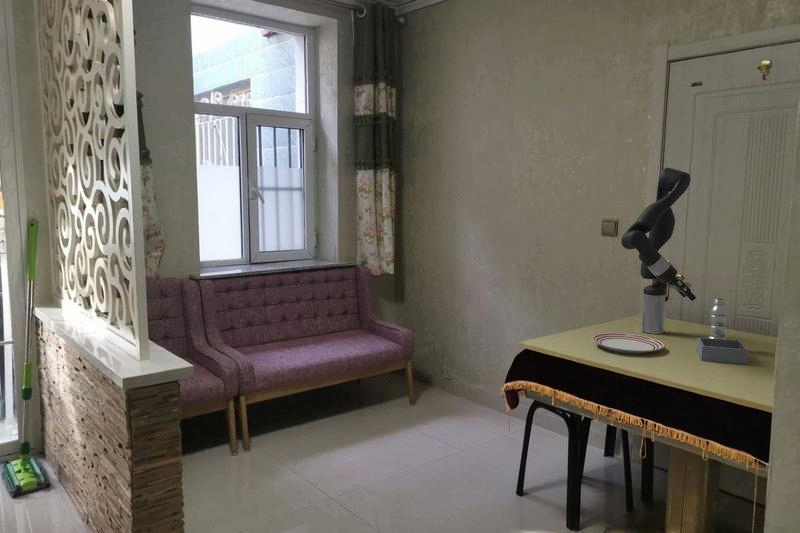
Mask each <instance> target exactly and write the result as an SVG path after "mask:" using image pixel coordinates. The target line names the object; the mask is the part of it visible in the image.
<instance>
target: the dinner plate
mask: <svg viewBox="0 0 800 533" xmlns="http://www.w3.org/2000/svg"><path fill="white" fill-rule="evenodd" d="M591 340H592V341H593V342H594V343H595V344H597V345H598V346H600V347H603V348H605V349H606V350H609V351H611V352H616V353H622V354H633V355H634V354H637V355H638V354H647V353H651V352H656V351H659V350H662V349H664V347H665V344H664V343H663V342H662V341H660V340H658V339H655V338H653V337H650V336H646V335H639V334H632V333H623V332H603V333H598V334H597V333H596V334H595V335H593V336H592V337H591Z"/></svg>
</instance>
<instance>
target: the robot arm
mask: <svg viewBox="0 0 800 533" xmlns="http://www.w3.org/2000/svg"><path fill="white" fill-rule="evenodd" d="M691 179H692V177H691V175H690V173H688V172H686V171H683V170H679V169H675V168H671V167H666V168H663V170H662V171H661V172H660V174H659V177H658V182H657V187H656V188H657V189H656V195H655V196H656V199H655V201H654V202H652V203H650V204H649V205H648V206H646V207H645V208H644V209H643V210H642V212H641V214H640V215H639V216H638V217H637V219H636V220H635V222H634V223H633V224H632V225H631V226H630V227H629V228H628V229H626V231H625V232H624V233H623V235H622V236H621V240H620V242H621V246H622V248H624V249H626V250H634V249H636V250H637V251H638V253H639V254H638V259H639V261H641V263H640V276H641V278H642V279H645V280H655V281H654V282H653V283H652V284H649V285H646V286H645V287H644V288H643V291H642V293H643V294H642V295H643V296H642V309H641V326H640V327H641V328H640V330H641V333H646V334H655V335H656V334H657V335H658V334H659V335H660V334H664V329H665V310H666V293H667V287H668V285H669V286H670V287H671V289H673V290H674V291H676V292H677V293H678V294H679V295H681V297H683V298H686V297H687V298H688V299H689V300H690V301H692V302H693V301H695V300H696V299H697V297H696V296H695V294H694V293H693V292H692V290H691V288H690V287H689V286H688V285H687V284H686V283H685V282H684V281H683V280H682V279H680V278H679V277H677V274H678V270H677V269H676V267H674V266H673V265H672V264H671V263H670V261H668V259H666V258H665V257H664V256H663V255H662V254H660V252H659V250H660V249H662V247H663V246H664V245H666V244H667V243H668V242H669V240H670V239H671V237H672V236H673V233H674V229H675V225H676V218H675V213H674V212H673V209H672V207H673V205H674V204H675V203H676V202H677V201H678V199H679V198H681V197H682V196H683V195H684V193H685V192H686V191H687V190H688V188H689V187H690V185H691ZM647 234H648V236H647ZM685 289H686V290H685Z"/></svg>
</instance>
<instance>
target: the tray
mask: <svg viewBox="0 0 800 533" xmlns="http://www.w3.org/2000/svg"><path fill="white" fill-rule="evenodd" d="M696 340H697V341H696V345H697V346H696V352H697V355H698V356H699V358H700V361H702V362H714V363H723V364H724V363H726V364H737V365H738V364H739V365H746V364H747V365H748V358H749V349H748V348H747V346H745V344H744V343H743V342H742V341H741V340H739V339H727V338H725V339H713V338H708V337H697V339H696Z"/></svg>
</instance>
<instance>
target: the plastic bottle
mask: <svg viewBox="0 0 800 533" xmlns="http://www.w3.org/2000/svg"><path fill="white" fill-rule="evenodd" d="M713 304H714V305H713V306H712V307H711V309H710V310H709V318H710V325H709V326H710V327H709V328H710V329H709V335H708V337H707V338H713V339H726V324H727V318H728V312H729V311H728V310H727V308H726V307H725V299H724V298H716V297H715V298H714V301H713Z"/></svg>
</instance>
